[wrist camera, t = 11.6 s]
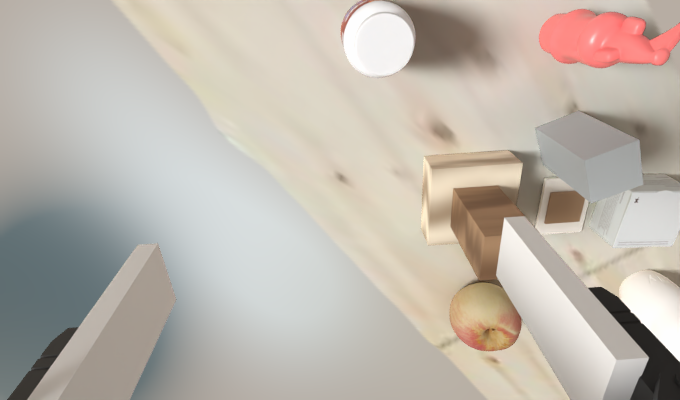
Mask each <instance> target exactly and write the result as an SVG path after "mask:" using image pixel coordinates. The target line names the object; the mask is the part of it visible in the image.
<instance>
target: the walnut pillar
mask: <svg viewBox="0 0 680 400" xmlns="http://www.w3.org/2000/svg"><path fill="white" fill-rule="evenodd" d="M519 216H524V215H523V213H522V212H521V211H520V210H519V209H518V208H517V207H516V205H515V204H514V203H513V202H512V201H511V200H510V199H509V198H508V196H507V195H506V194H505V193H504V192H503V191H502V190H501V189H500V187H499V186H498V185H494V186H480V187H466V188H453V198H452V211H451V223H450V227H451V229H452V231H453V232H454V234H455V236H456V238H457V240H458V242H459V244H460V246H461V247H462V249H463V251H464V253H465V255H466V257H467V259H468V260H469V262H470V264H471V266H472V268H473V270H474V272H475V274H476V275H477V277H478V279H479V281H481V280H494V279H498V278H497V276H496V272H497V265H498V258H499V251H500V244H501V237H502V230H503V223H504V218H506V217H519ZM527 220H528V219H527ZM528 221H529V220H528ZM529 222H530V221H529ZM530 223H531V222H530ZM535 229H536V228H535ZM536 230H537V229H536ZM537 231H538V230H537ZM538 232H539V231H538Z"/></svg>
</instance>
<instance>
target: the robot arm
mask: <svg viewBox="0 0 680 400" xmlns="http://www.w3.org/2000/svg"><path fill="white" fill-rule="evenodd" d="M496 276H497V278H498V280H499V281H500V283H501V285H502V286H503V288H504V290H505V291H506V293H507V295H508V296H509V298H510V300H511V301H512V303H513V305H514V306H515V308H516V310H517V311H518V313H519V315H520V316H521V318H522V320H523V321H524V323H525V325H526V326H527V328H528V330H529V331H530V333H531V335H532V336H533V338H534V340H535V341H536V343H537V345H538V346H539V348H540V350H541V351H542V353H543V355H544V356H545V358H546V360H547V361H548V363H549V365H550V366H551V368H552V370H553V371H554V373H555V375H556V376H557V378H558V380H559V381H560V383H561V385H562V386H563V388H564V390H565V391H566V393H567V395H568V396H569V398H570V400H680V362H679V361H678V360H677V359H676V357H675V356H674V355H673V354H672V353H671V352H670V351H669V350H668V349H667V348H666V347H665V346H664V345H663V344H662V343H661V342H660V341H659V340H658V339H657V338H656V336H655V335H654V334H653V333H652V332H651V331H650V330H649V329H648V328H647V327H646V326H645V325H644V324H641V321H640V320H639V319H638V318H637V316H636V315H635V314H634V313H631V310H630V309H629V308H628V307H627V306H626V305H625V304H624V303H623V302H622V301H621V300H620V299H619V298H618V297H617V296H615V295H614V294H612V293H610V292H609V291H607V290H605V289H604V288H602V287H594V288H587V287H586V285H585V284H584V283H583V282H582V281H581V280H580V279H579V277H578V276H577V275H576V274H575V273H574V272H573V271H572V269H571V268H570V267H569V266H568V265H567V264H566V263H565V262H564V260H563V259H562V258H561V257H560V256H559V255H558V254H557V252H556V251H555V250H554V249H553V248H552V247H551V246H550V245H549V243H548V242H547V241H546V240H545V239H544V238H543V237H542V235H541V234H540V233H539V232H538V231H537V230H536V229H535V227H534V226H533V225H532V224H531V223H530V222H529V221H528V220H527V218H526V217H525V216H519V217H506V218H504V223H503V230H502V237H501V244H500V251H499V258H498V265H497V272H496ZM175 301H176V297H175V294H174V291H173V288H172V285H171V282H170V279H169V276H168V273H167V270H166V267H165V264H164V260H163V257H162V254H161V251H160V248H159V245H158V244H144V245H137V247H136V248H135V249H134V251H133V252H132V254H131V255H130V257H129V258H128V259H127V261H126V262H125V263H124V265H123V266H122V268H121V269H120V270H119V272H118V273H117V275H116V276H115V277H114V279H113V280H112V282H111V283H110V284H109V286H108V287H107V289H106V290H105V292H104V293H103V294H102V296H101V297H100V299H99V300H98V301H97V303H96V304H95V305H94V307H93V308H92V310H91V311H90V312H89V314H88V315H87V317H86V318H85V319H84V321H83V322H82V324H81V325H80V327H77V328H68V329H66V330H65V331H64V332H63V333H62V334H60V335H59V336H58V337H57V338H55V339H54V340H53V341H52V342H51V343H50V344H49V346H48V347H47V348H46V350H45V351H44V352H43V353H42V355H41V358H40V359H38V360H37V361H36V363H35V364H34V365H33V367H32V370H31V371H29V372H28V373H27V374H26V376H25V377H24V378H23V380H22V381H21V383H20V384H19V385H18V386H17V388H16V389H15V390H14V392H13V393H12V394H11V395H10V397H9V398H8V399H7V400H130V398H131V396H132V394H133V391H134V389H135V387H136V385H137V382H138V381H139V379H140V376H141V374H142V372H143V370H144V368H145V366H146V364H147V361H148V359H149V357H150V355H151V353H152V350H153V349H154V346H155V344H156V342H157V340H158V338H159V336H160V333H161V331H162V329H163V327H164V325H165V323H166V321H167V318H168V316H169V314H170V312H171V310H172V308H173V305H174V303H175Z"/></svg>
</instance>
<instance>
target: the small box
mask: <svg viewBox="0 0 680 400" xmlns="http://www.w3.org/2000/svg"><path fill="white" fill-rule="evenodd" d="M642 175H643V185H641V186H638V187H635V188H633V189H630V190H627V191H624V192H622V193H619V194H616V195H613V196H610V197H608V198H605V199H602V200H599V201H597V203H596V206H595V209H594V212H593V215H592V218H591V221H590V224H589V227H590V228H591V229H592V230H593V231H594V232H595V233H596V234H598V235H599V236H600V237H601V238H602V239H603V240H605V241H606V242H607V243H608V244H609V245H610V246H611V247H612V248H633V247H667V246H672V245H673V244H674V242H675V240H676V237H677V235H678V233H679V231H680V182H679V181H677V180H675V179H673V178H671V177H669V176H668V175H666V174H642Z"/></svg>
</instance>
